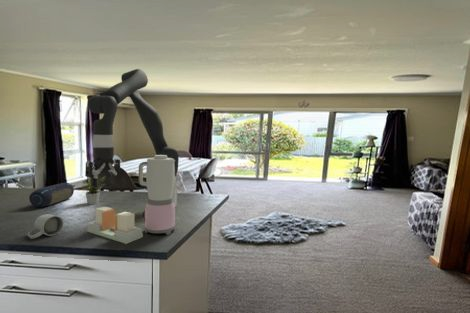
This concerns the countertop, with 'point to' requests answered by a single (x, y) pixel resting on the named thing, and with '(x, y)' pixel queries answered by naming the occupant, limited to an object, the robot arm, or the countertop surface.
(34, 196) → the portable speaker
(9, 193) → the countertop surface
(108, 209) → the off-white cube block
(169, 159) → the blender
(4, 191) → the countertop surface
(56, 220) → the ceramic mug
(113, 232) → the rail
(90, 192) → the house plant
